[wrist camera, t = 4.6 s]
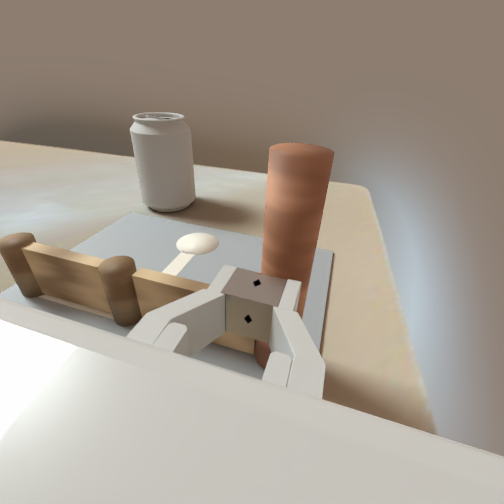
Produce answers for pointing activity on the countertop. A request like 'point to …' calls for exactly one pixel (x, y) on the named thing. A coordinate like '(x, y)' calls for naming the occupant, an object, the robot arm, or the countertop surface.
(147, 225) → the card
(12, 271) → the fixed rail
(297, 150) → the rail
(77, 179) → the countertop surface
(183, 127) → the can
